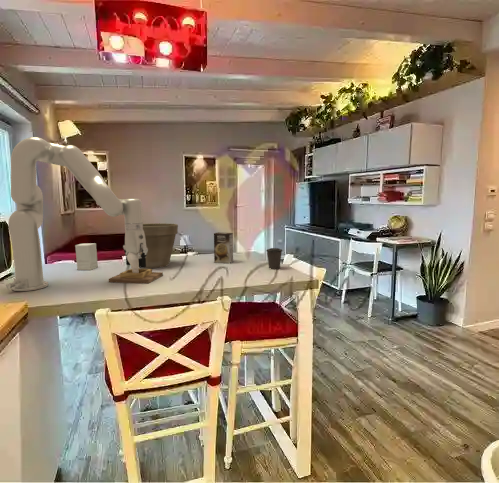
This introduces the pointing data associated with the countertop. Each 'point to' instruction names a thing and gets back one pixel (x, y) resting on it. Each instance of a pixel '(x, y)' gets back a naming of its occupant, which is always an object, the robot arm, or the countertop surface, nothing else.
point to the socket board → (136, 276)
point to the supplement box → (86, 256)
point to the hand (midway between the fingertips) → (136, 265)
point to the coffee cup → (274, 257)
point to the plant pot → (159, 243)
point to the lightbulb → (133, 262)
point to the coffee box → (223, 247)
